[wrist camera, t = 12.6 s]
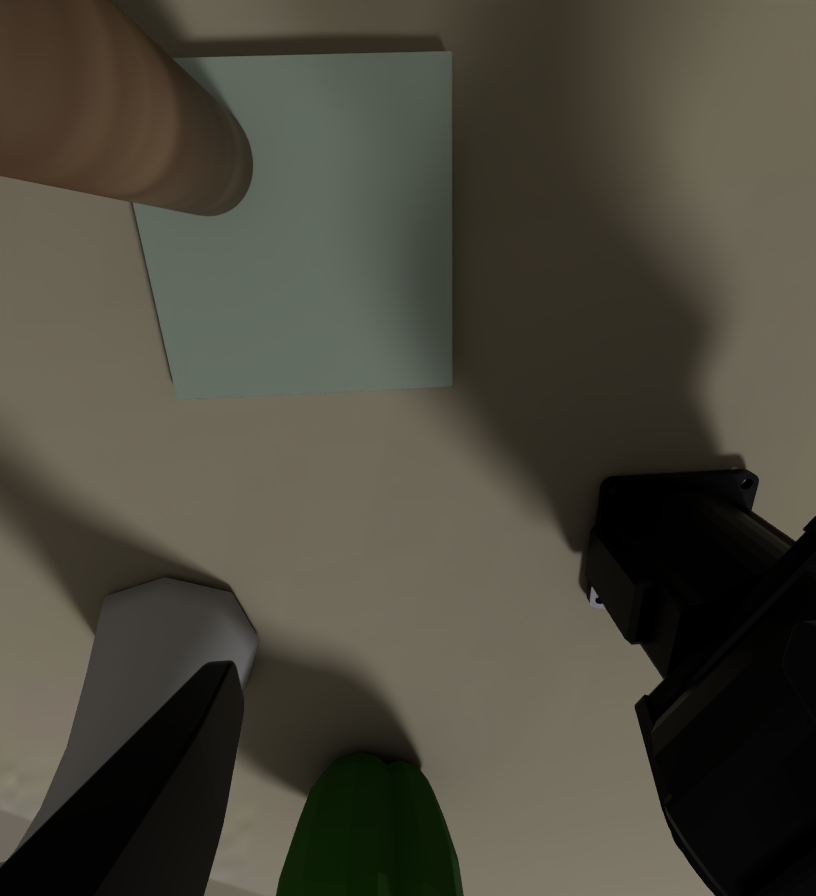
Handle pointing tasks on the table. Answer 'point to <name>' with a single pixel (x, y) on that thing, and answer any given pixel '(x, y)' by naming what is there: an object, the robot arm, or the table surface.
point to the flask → (144, 670)
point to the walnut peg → (112, 112)
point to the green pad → (316, 232)
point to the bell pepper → (371, 835)
